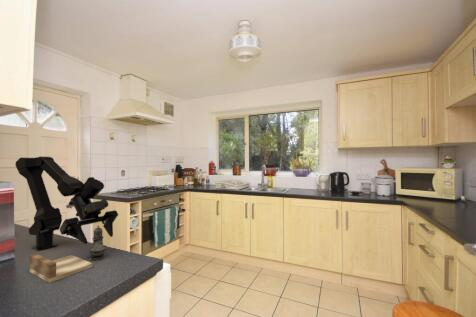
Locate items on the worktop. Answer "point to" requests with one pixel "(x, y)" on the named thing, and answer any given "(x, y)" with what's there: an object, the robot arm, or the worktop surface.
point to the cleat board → (56, 267)
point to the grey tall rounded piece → (97, 246)
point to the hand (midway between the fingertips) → (99, 239)
